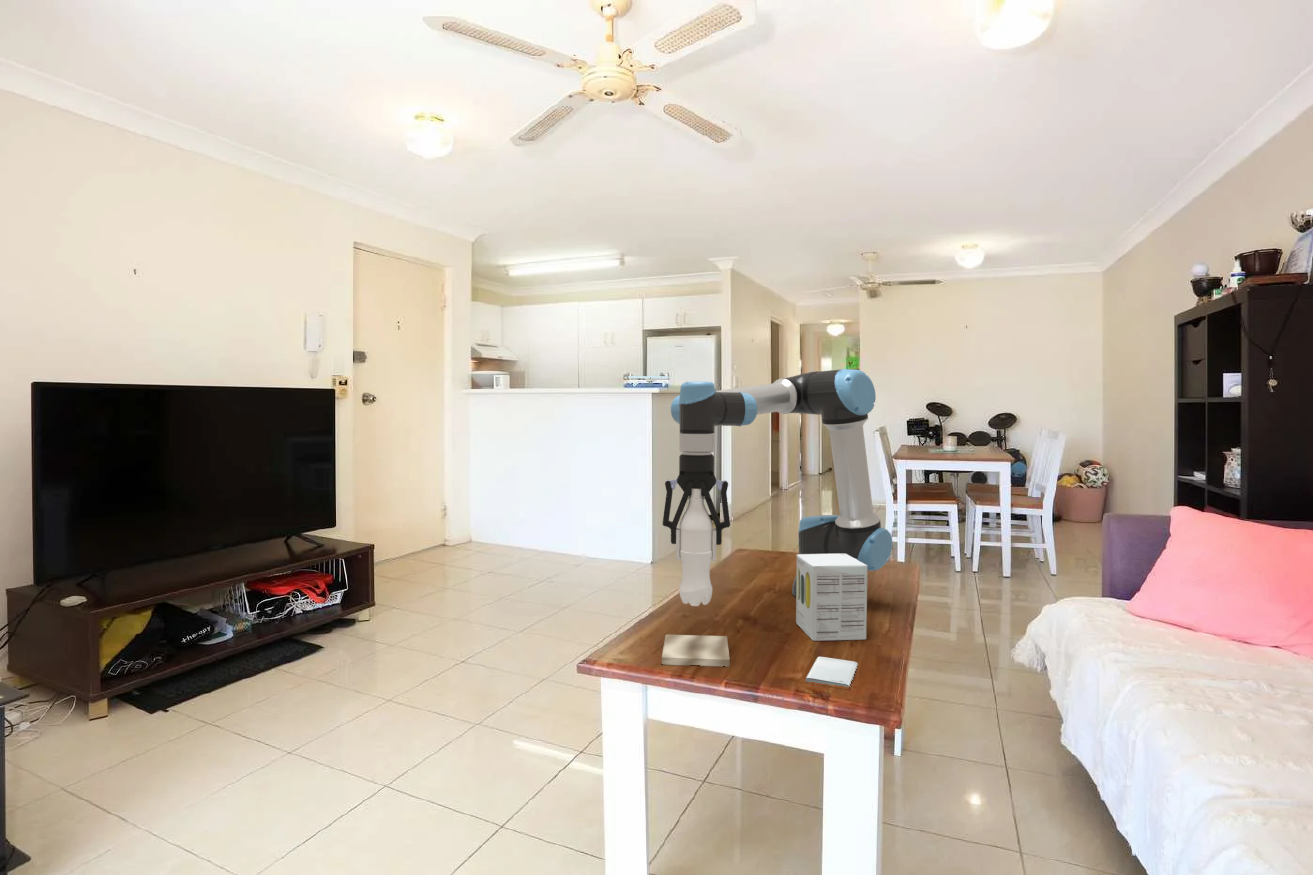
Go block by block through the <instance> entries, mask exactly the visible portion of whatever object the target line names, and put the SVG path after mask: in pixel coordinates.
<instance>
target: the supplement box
mask: <svg viewBox="0 0 1313 875" xmlns="http://www.w3.org/2000/svg"><path fill="white" fill-rule="evenodd" d="M796 574H797V582H796V597H795V598H796V599H795V600H796V601H795V602H796V603H795V604H796V605H795V606H796V607H795V608H796V609H795V610H796V612H795V613H796V614H795V623H796V625H797V626H799V627H800V629H801V630H802V631H803V632H804V633H805V634H806V635H807V637H809V638H810V639H811V640H812V641H813V642H815V641H816V642H818V641H819V642H820V641H847V640H848V641H856V640H860V641H861V640H867V620H868V619H867V614H868V613H867V612H868V611H867V609H868V608H867V606H868V570H867V565H866V564H864V563H862V562H860V561H858V560H857V559H855V558H853V557H851V556H849V555H847V554H799V553H798V554H796Z"/></svg>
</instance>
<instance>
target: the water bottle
mask: <svg viewBox="0 0 1313 875" xmlns="http://www.w3.org/2000/svg"><path fill="white" fill-rule="evenodd" d="M691 492H692V493H691V494H692V495H691V497H688V499H687V500H688V505H687V508H686V510H685V512H683V514H682V517H681V518H680V522H679V528H680V561H681V567H682V568H681V569H682V573H681V579H680V583H679V586H678V588H679V590H678V592H679V597H680V599H681V600H680V601H682V604H684V605H686V604H689V605H690V606H692V607H699V606H700V605H701V603H702V604H703V605H704V606H706V605H709V603H710V601H711V600H712V595H713V585H712V583H711V576H710V572H711V571H710V570H711V563H712V556H713V550H712V542H713V529H714V526H713V525H714V523H713V520H712V517H711V516H710V514H709V513H708V510H707V509H706V506H705V503H704V500H705V497H702V495H701V489H692V491H691Z"/></svg>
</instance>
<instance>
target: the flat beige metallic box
mask: <svg viewBox="0 0 1313 875" xmlns="http://www.w3.org/2000/svg"><path fill="white" fill-rule="evenodd" d="M662 664H663V665H664V666H666V665H667V666H690V665H700V666H699V667H723V666H725V667H728V668H729V667H731V665H730V664H731V662H730V652H729V642H728V635H698V634H697V635H694V634H693V635H692V634H665V637H664V643H663V647H662V654H661V665H662ZM663 665H662V666H663Z"/></svg>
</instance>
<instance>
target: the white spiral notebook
mask: <svg viewBox="0 0 1313 875" xmlns="http://www.w3.org/2000/svg"><path fill="white" fill-rule="evenodd" d="M857 666H858V662H857V661H854V660H853V661H852V660H847V659H840V658H831V657H825V656H817V658H816V659H815V661H814V663H813V665H812V667H811V668H810V670H809V672H808V673H807V676H806V678H805V682H806V681H807V682H815V683H821V684H828V685H837V686H844V687H849V686H850V684H851V681H852V680H853V681H854V678H855V676H854V674H855V675H856V673H855V671H856V672H857V670H856V669H858V667H857ZM853 677H854V678H853ZM853 681H852V682H853ZM851 685H852V684H851ZM850 687H851V686H850Z"/></svg>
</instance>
